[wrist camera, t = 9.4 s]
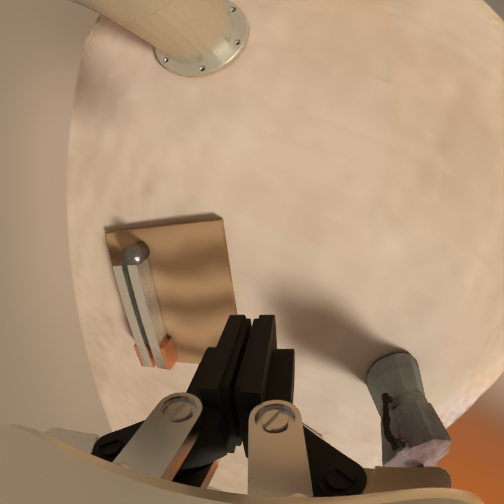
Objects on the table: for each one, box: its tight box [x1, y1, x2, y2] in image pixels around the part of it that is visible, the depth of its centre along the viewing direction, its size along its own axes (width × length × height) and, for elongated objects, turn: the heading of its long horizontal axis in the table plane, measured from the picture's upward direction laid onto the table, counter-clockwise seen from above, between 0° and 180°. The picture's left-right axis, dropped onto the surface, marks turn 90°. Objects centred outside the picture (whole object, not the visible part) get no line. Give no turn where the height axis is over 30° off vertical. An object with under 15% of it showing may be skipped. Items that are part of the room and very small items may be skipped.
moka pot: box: [367, 353, 451, 467], centre depth 30 cm, size 10×15×20 cm, turn 50°
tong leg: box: [122, 241, 178, 370], centre depth 39 cm, size 19×3×3 cm, turn 6°
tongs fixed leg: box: [113, 260, 156, 367], centre depth 40 cm, size 17×2×3 cm, turn 7°
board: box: [106, 219, 237, 364], centre depth 41 cm, size 22×18×1 cm
